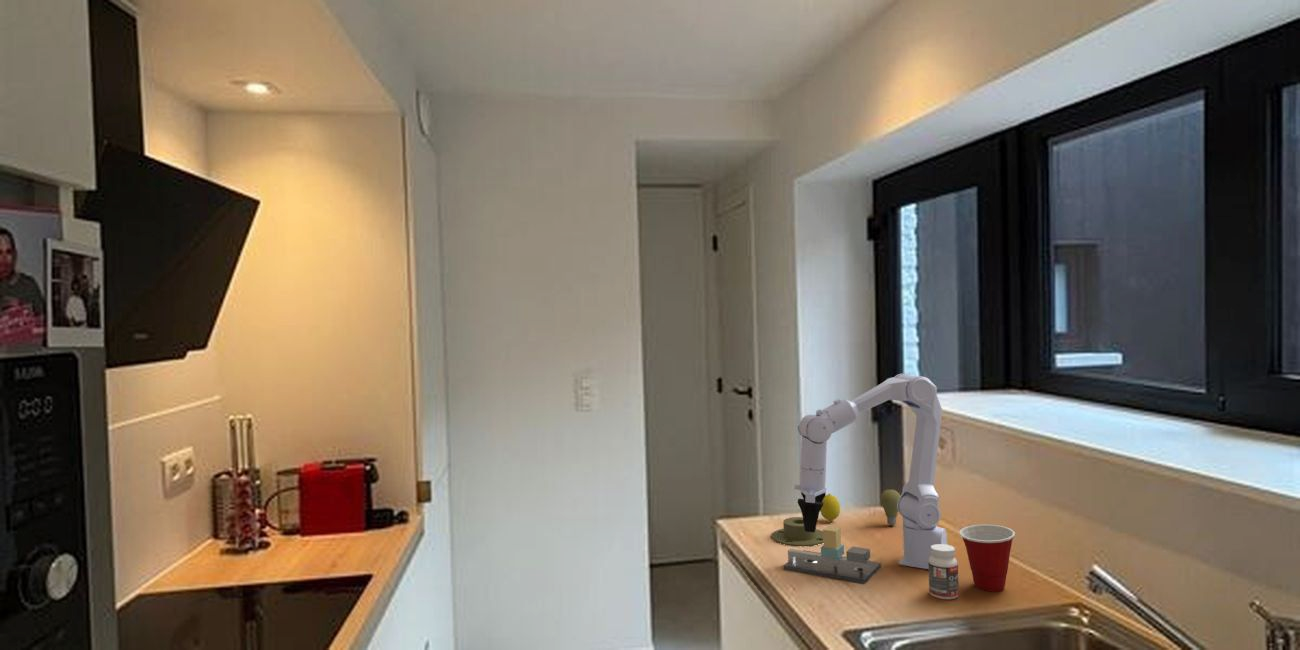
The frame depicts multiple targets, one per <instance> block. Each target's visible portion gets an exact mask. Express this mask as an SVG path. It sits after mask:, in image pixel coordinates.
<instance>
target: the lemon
mask: <svg viewBox="0 0 1300 650" xmlns="http://www.w3.org/2000/svg"><path fill="white" fill-rule="evenodd" d="M822 502H824V504H823V506H822V508H821V510H820V512H819V513H820V515H821V517H823V518H824V519H826V520H827V521H828V523H832V522H833V521H834V520H836V519H837V518H838V517H839V516H840V513H841V505H840V501H839V500H838V498H837V497H836V496H835V495H833V494H831V493H828V494H826V495H825V497H824V499H823V501H822Z"/></svg>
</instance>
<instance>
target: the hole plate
mask: <svg viewBox="0 0 1300 650" xmlns="http://www.w3.org/2000/svg"><path fill="white" fill-rule="evenodd" d="M802 551H807V552H813V553H818V552H816V551H809V550H806V549H805V550H804V549H803V550H802ZM819 553H820V554H821V552H819ZM841 557H844V558H847V556H843V555H842V556H841ZM868 561H869V562H870V571H871V573H870V574H869V575H863V569H859V568H857V567H851V566H845V565H840V564H837V565H834V563H828V562H822V561H816V560H810V559H804V558H798V557H796V561H794V562H788V561H787V562H785V564H783V570H784V571H785V570H786V571H791V572H795V573H801V574H808V575H812V576H818V577H824V578H828V577H829V579H833V578H834V580H839V581H844V580H845V582H851V583H855V584H861V585H865V584H866V583H867V582H868V581H869V580H870V579H871V578H873V576H874V575H876V573H877V572H878V571H879V570H881V568H882V563H881V562H878V561H871V560H868ZM877 570H878V571H877Z"/></svg>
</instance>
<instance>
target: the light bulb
mask: <svg viewBox="0 0 1300 650" xmlns="http://www.w3.org/2000/svg"><path fill="white" fill-rule="evenodd" d="M900 496H901V494H900V492H898V491H897V490H895V489H892V488H891V489H889V488H887V489H886V490H884V491H882V493H881V494H880V497H879V499H880V504H881V507H882V509H883V511H884V513H885V514H884V515H885V516H886V520H887V521H886V522H887V525H889V526H890V527H894V526H895V525H896V524H897V517H898V514H899V512H898V509H897V502H898V499H899V498H900Z"/></svg>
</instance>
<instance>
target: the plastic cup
mask: <svg viewBox="0 0 1300 650" xmlns="http://www.w3.org/2000/svg"><path fill="white" fill-rule="evenodd" d="M1015 534H1016V532H1015V531H1014V530H1013V529H1011V528H1009V527H1006V526H1002V525H996V524H973V525H968V526H964V527H962V528H961V529H960V530H959V535H960V536H961V538H962V541H963V544H964V546H965V549H966V554H967V557H968V561H969V562H968V564H969V568H970V570H971V576H972V580H973V583H974V586H975V588H977V589H979V590H982V591H986V592H1001V591H1004V589H1005V587H1006V581H1007V580H1006V579H1007V575H1008V570H1009V562H1010V555H1011V549H1012V543H1013V540H1014V538H1015Z"/></svg>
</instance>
